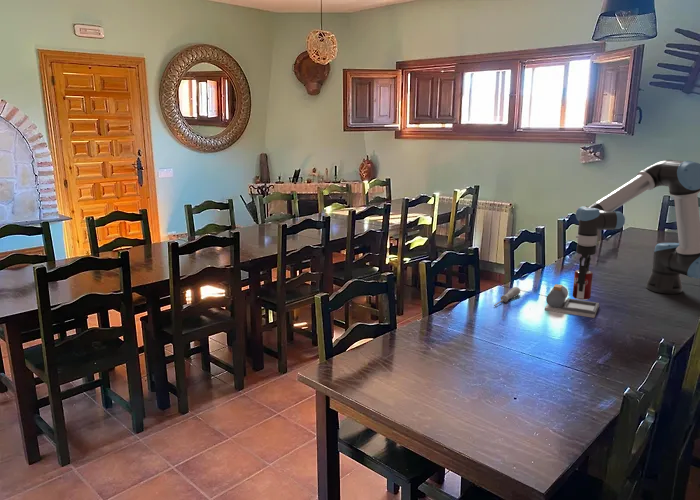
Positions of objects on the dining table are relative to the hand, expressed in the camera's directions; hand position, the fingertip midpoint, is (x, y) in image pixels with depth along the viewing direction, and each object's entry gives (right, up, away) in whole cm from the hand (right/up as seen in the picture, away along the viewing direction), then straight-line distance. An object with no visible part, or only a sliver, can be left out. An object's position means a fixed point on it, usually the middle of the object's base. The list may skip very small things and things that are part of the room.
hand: (581, 295), depth 226 cm
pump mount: (-3, -6, +3) cm, 7 cm away
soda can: (0, -1, 0) cm, 1 cm away
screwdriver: (-28, -4, +15) cm, 32 cm away
